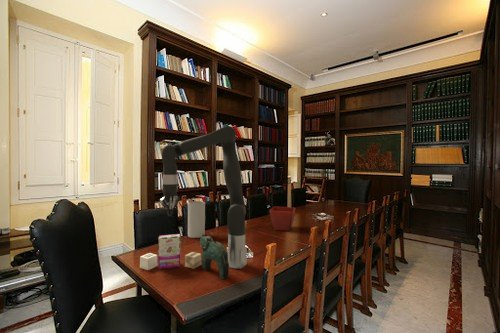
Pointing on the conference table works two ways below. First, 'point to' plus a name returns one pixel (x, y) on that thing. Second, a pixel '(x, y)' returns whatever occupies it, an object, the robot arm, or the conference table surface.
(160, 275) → the conference table surface
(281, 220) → the plant pot
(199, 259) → the maple block one
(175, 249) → the candy bar box
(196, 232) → the cylinder vase
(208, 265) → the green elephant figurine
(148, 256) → the white block two
